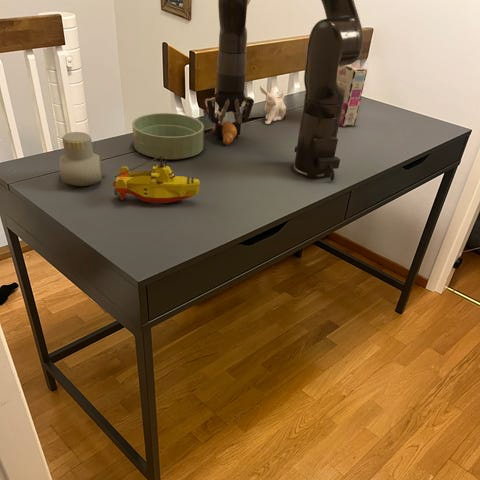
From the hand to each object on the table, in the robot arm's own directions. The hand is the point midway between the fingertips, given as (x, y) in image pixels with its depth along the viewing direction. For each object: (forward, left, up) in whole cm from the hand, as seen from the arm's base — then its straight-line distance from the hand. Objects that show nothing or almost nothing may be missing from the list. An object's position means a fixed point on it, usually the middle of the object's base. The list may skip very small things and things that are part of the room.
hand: (227, 136), depth 133 cm
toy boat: (-33, +28, -1) cm, 43 cm away
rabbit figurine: (+15, -20, -1) cm, 25 cm away
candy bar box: (+9, -42, -1) cm, 43 cm away
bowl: (-4, +18, 0) cm, 18 cm away
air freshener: (-20, +42, -1) cm, 47 cm away
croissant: (0, 0, 0) cm, 0 cm away
